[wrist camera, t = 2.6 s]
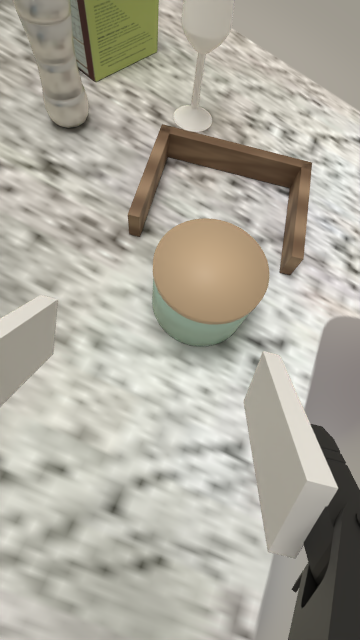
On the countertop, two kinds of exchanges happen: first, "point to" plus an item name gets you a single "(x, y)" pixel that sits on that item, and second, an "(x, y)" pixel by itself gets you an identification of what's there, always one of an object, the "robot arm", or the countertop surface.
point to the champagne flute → (202, 51)
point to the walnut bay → (236, 162)
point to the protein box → (113, 34)
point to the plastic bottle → (55, 58)
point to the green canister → (207, 280)
